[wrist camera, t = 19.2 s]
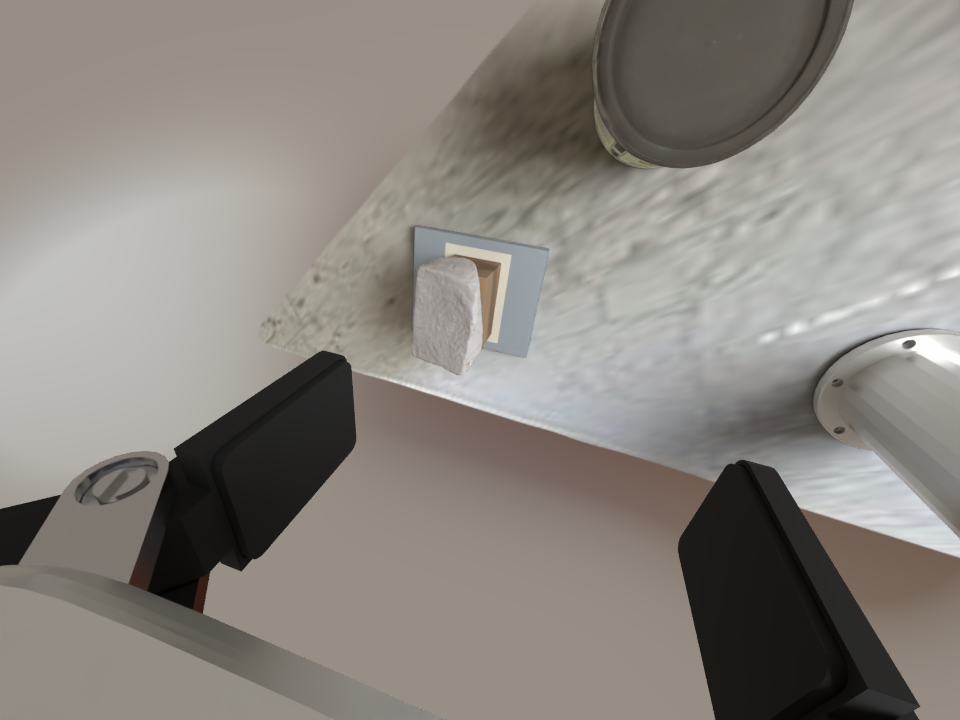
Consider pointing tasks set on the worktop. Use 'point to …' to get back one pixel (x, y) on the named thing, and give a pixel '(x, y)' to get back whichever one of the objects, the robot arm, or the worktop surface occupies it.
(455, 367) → the rough stone chunk
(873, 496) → the worktop surface
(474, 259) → the walnut block
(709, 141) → the coffee can
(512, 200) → the worktop surface
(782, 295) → the worktop surface
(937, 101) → the worktop surface
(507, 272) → the board
